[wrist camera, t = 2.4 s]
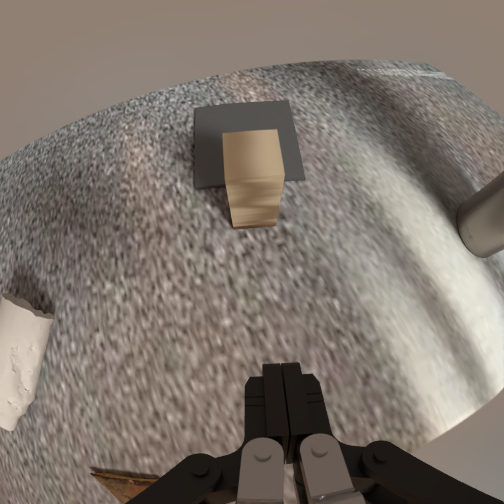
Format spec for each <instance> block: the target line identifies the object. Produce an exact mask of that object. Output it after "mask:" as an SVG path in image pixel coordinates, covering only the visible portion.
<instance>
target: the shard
mask: <svg viewBox="0 0 504 504" xmlns="http://www.w3.org/2000/svg"><path fill="white" fill-rule="evenodd" d="M90 474H91V475H92V476H94V477H95V478H96V479H97V480H98V481H99V482H100V483H101V484H102V485H103V486H105V487H106V488H107V489H108V490H109V491H110V492H111V493H112V494H113V495H114V496H115V497H116V498H117V499H118V500H120V501H121V502H122V503H124V504H125V503H126V502H128V501H129V500H131V499H132V498H134V497H135V496H136V495H138V494H139V493H141V492H142V491H143V490H145V489H146V488H148V487H149V486H150V485H152V484H153V483H154V482H156V481H157V480H158V479H143V478H139V479H137V478H131V477H126V476H120V475H115V474H109V473H90Z"/></svg>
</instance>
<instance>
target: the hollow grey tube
mask: <svg viewBox="0 0 504 504" xmlns="http://www.w3.org/2000/svg"><path fill="white" fill-rule="evenodd" d="M54 319H55V318H54V316H53V315H52V314H50V313H47V314H43V312H42V310H35V309H33V308H32V307H31V304H30V303H29V302H27V301H26V300H25V299H16V298H15V296H14V295H11V294H8V293H3V294H2V298H1V302H0V427H2V428H4V429H6V430H11V431H13V430H14V429H15V428H16V425H17V421H18V419H19V418H20V416H21V415H23V414H25V413H26V412H27V408H28V405H29V404H31V402H32V401H33V400H34V399H35V394H36V388H37V384H38V379H39V375H40V370H41V366H42V361H43V357H44V354H45V350H46V345H47V342H48V337H49V333H50V327H51V325H52V323H53V321H54Z"/></svg>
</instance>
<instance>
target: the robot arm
mask: <svg viewBox="0 0 504 504" xmlns="http://www.w3.org/2000/svg"><path fill="white" fill-rule="evenodd" d="M457 224H458V229H459V233H460V236H461V238H462V240H463V242H464V244H465V245H466V247H467V248H468V249H469V250H470V251H471V252H472V253H473V254H474V255H476V256H478V257H482V258H486V257H489V256H491V255H493V254H495V253H498V252H500V251H502V250H504V171H503V172H502V173H501V174H499V175H498V176H497V177H496V178H494V179H493V180H492V181H491V182H490V183H488V184H487V185H486V186H485V187H483V188H482V189H481V190H480V191H478V192H477V193H476V194H475V195H473V196H472V197H471V198H470V199H468V200H467V201H466V202H464V203H463V204H462V205H461V206H460V208H459V211H458V215H457ZM285 459H286V464H292V463H293V469H294V475H293V484H294V489H295V493H296V498H297V503H298V504H504V502H503V501H501V500H499V499H496V498H494V497H492V496H490V495H487V494H485V493H483V492H481V491H479V490H477V489H475V488H473V487H470V486H469V485H466V484H464V483H462V482H460V481H458V480H456V479H455V478H453V477H450V476H449V475H447V474H445V473H443V472H441V471H439V470H437V469H435V468H434V467H432V466H430V465H428V464H426V463H425V462H423V461H421V460H419V459H417V458H416V457H414V456H412V455H411V454H409V453H407V452H405V451H404V450H402V449H400V448H399V447H397V446H395V445H394V444H392V443H390V442H388V441H381V440H380V441H374V442H372V443H370V444H369V445H367V446H366V447H360V446H351V445H346V444H343V443H341V442H340V441H338V440H337V439H336V438H335V437H334V436H333V434H332V432H331V428H330V424H329V419H328V415H327V411H326V407H325V403H324V399H323V395H322V390H321V386H320V382H319V381H318V380H317V379H316V378H315V376H314V375H313V374H302V372H301V367H300V363H299V362H296V363H281V365H280V363H278V364H263V365H262V376H261V377H250V378H249V379H248V381H247V383H246V385H245V437H244V442H243V444H242V446H241V447H240V448H239V449H238V450H237V451H235V452H233V453H231V454H229V455H225V456H221V457H217V458H214V457H212V456H210V455H208V454H202V453H198V454H193V455H190V456H188V457H186V458H185V459H184V460H182V461H181V462H180V463H179V464H177V465H176V466H175V467H174V468H172V469H171V470H170V471H169V472H167V473H166V474H165V475H163V476H162V477H161V478H160V479H158V480H157V481H156V482H154V483H153V484H152V485H150V486H149V487H148V488H146V489H145V490H143V491H142V492H141V493H139V494H138V495H136V496H135V497H134V498H132V499H131V500H129V501H128V502H126V503H125V504H226V503H230V502H234V501H236V503H235V504H284V502H283V483H284V464H285Z"/></svg>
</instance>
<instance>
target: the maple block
mask: <svg viewBox="0 0 504 504" xmlns="http://www.w3.org/2000/svg"><path fill="white" fill-rule="evenodd" d="M222 136H223V155H224V173H225V183H226V189H227V194H228V200H229V206H230V211H231V217H232V223H233V228H234V230H236V229H247V228H259V227H271V226H276V221H277V216H278V210H279V205H280V199H281V194H282V188H283V183H284V177H285V172H284V166H283V160H282V154H281V149H280V143H279V137H278V132H277V129H273V130H256V131H242V132H231V133H222Z"/></svg>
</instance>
